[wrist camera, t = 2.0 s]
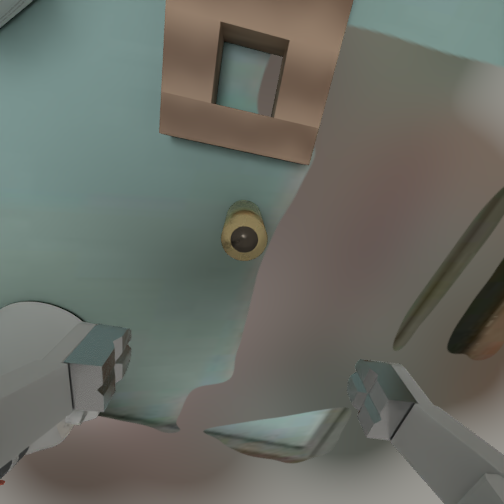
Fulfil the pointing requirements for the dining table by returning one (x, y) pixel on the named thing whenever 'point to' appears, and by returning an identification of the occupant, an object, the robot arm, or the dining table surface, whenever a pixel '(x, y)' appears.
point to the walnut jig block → (259, 38)
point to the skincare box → (11, 9)
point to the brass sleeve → (244, 231)
